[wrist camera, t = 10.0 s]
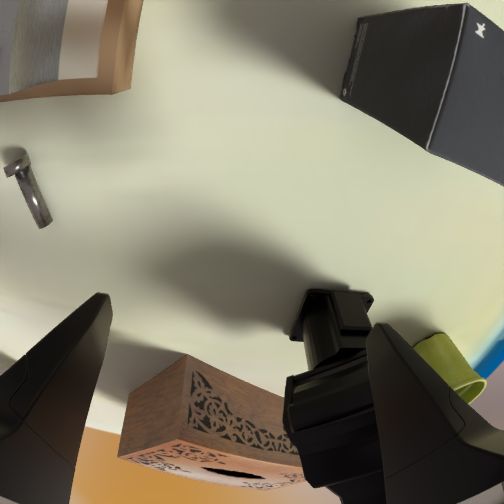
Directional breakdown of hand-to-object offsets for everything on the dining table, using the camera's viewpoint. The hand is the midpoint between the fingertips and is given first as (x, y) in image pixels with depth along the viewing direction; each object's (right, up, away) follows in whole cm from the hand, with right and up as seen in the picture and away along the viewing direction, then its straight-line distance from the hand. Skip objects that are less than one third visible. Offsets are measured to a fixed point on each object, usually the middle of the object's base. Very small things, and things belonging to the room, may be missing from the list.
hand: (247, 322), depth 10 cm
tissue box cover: (-2, -20, +30) cm, 36 cm away
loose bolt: (-17, +7, +10) cm, 21 cm away
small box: (+11, +13, +7) cm, 19 cm away
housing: (-12, +15, 0) cm, 19 cm away
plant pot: (+22, -10, +23) cm, 34 cm away
